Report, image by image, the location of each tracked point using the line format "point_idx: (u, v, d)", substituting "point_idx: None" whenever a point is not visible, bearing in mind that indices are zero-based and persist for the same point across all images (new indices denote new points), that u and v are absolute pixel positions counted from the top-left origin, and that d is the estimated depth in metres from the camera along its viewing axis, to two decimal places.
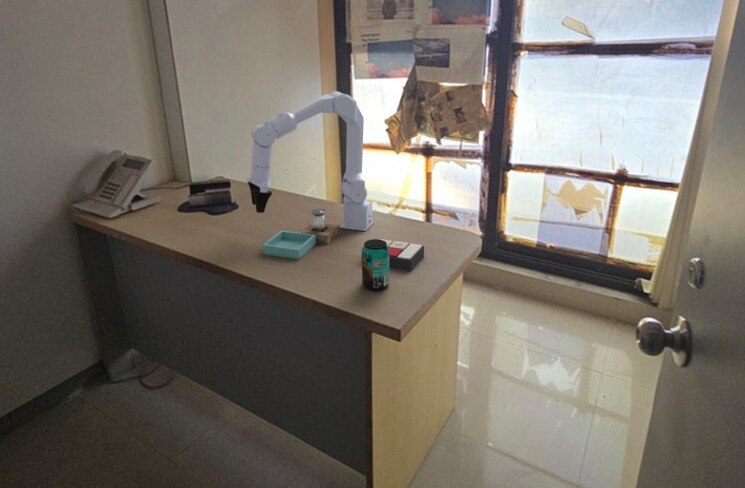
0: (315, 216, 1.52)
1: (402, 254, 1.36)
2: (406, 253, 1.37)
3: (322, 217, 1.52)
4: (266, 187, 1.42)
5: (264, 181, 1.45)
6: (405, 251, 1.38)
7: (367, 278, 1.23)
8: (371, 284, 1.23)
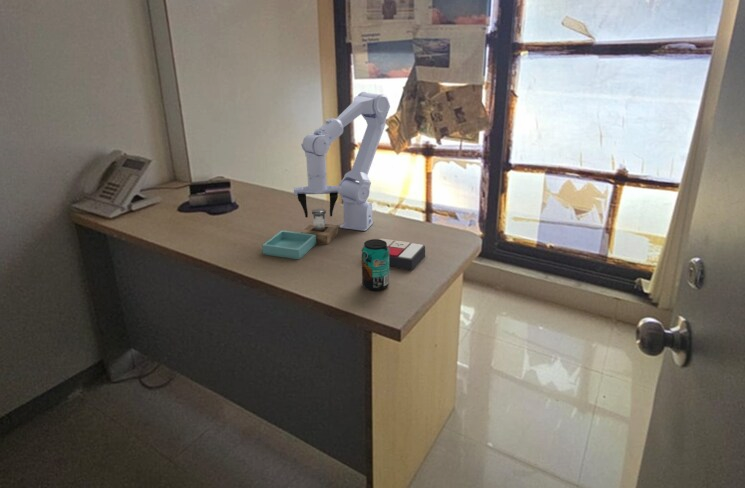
0: (315, 216, 1.52)
1: (403, 254, 1.37)
2: (407, 253, 1.37)
3: (322, 217, 1.52)
4: (340, 187, 1.51)
5: None
6: (406, 251, 1.38)
7: (367, 278, 1.23)
8: (371, 284, 1.23)
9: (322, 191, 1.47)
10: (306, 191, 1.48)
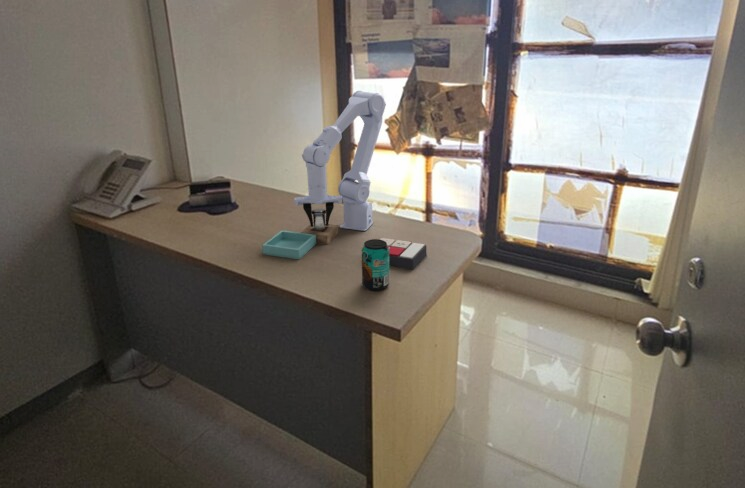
0: (315, 216, 1.52)
1: (404, 253, 1.37)
2: (408, 252, 1.37)
3: (322, 217, 1.52)
4: None
5: None
6: (407, 250, 1.38)
7: (367, 278, 1.23)
8: (371, 284, 1.23)
9: (323, 201, 1.49)
10: (307, 201, 1.49)
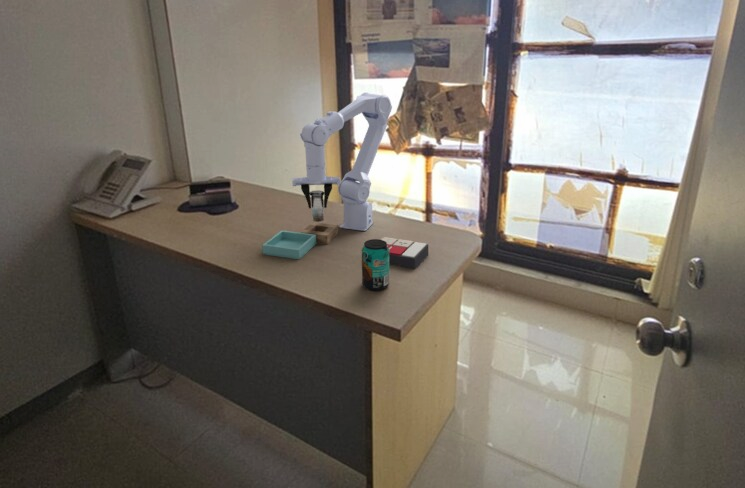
0: (313, 197, 1.49)
1: (406, 252, 1.37)
2: (410, 251, 1.38)
3: (320, 199, 1.49)
4: (339, 178, 1.50)
5: None
6: (409, 249, 1.39)
7: (367, 278, 1.23)
8: (371, 284, 1.23)
9: (321, 182, 1.46)
10: (305, 182, 1.46)
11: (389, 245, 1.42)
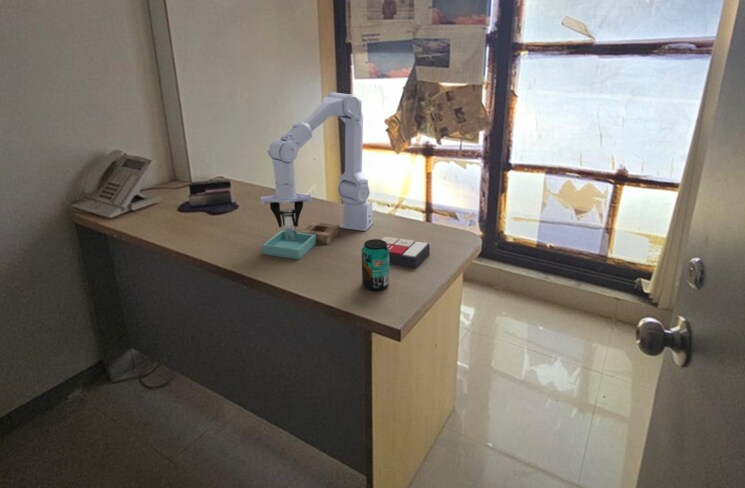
0: (283, 217, 1.43)
1: (407, 252, 1.38)
2: (411, 251, 1.38)
3: (290, 217, 1.43)
4: None
5: None
6: (410, 249, 1.39)
7: (367, 278, 1.23)
8: (371, 284, 1.23)
9: (291, 200, 1.39)
10: (274, 200, 1.40)
11: (390, 244, 1.43)
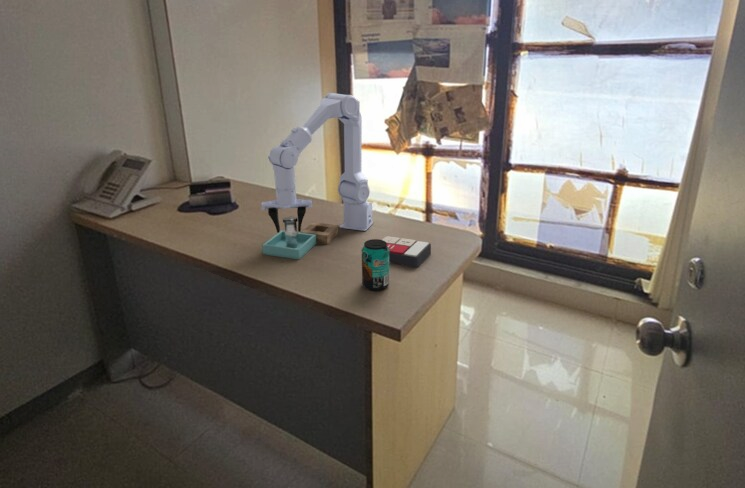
0: (286, 224, 1.44)
1: (408, 251, 1.38)
2: (413, 250, 1.38)
3: (293, 226, 1.44)
4: (311, 201, 1.44)
5: (296, 199, 1.43)
6: (412, 248, 1.40)
7: (367, 278, 1.23)
8: (371, 284, 1.23)
9: (291, 205, 1.40)
10: (274, 206, 1.40)
11: (392, 244, 1.43)
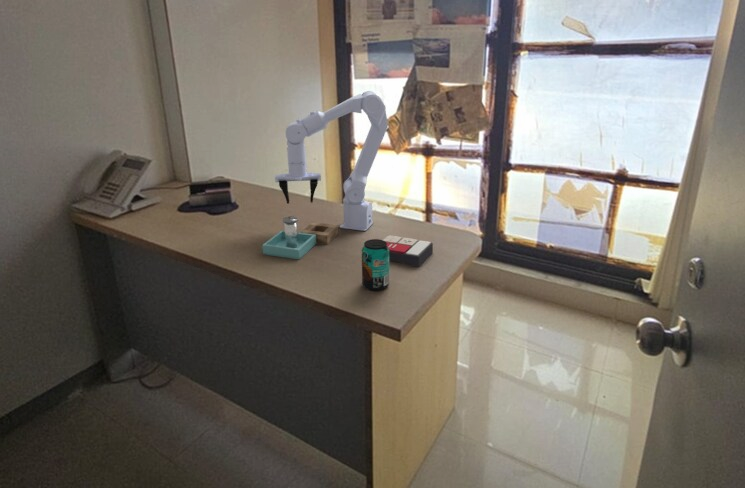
0: (286, 224, 1.44)
1: (410, 250, 1.39)
2: (414, 249, 1.39)
3: (293, 226, 1.44)
4: (320, 174, 1.57)
5: None
6: (413, 248, 1.40)
7: (367, 278, 1.23)
8: (371, 284, 1.23)
9: (302, 178, 1.54)
10: (287, 178, 1.54)
11: (394, 243, 1.43)
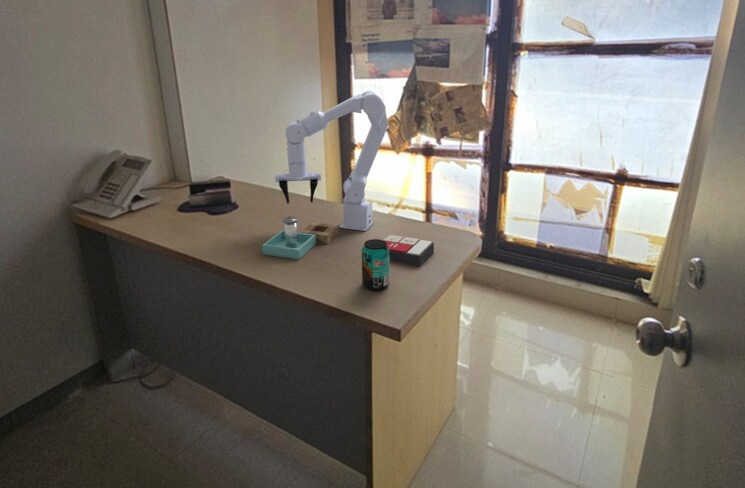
0: (286, 224, 1.44)
1: (411, 250, 1.39)
2: (416, 249, 1.39)
3: (293, 226, 1.44)
4: (320, 174, 1.57)
5: None
6: (415, 247, 1.40)
7: (367, 278, 1.23)
8: (371, 284, 1.23)
9: (302, 178, 1.54)
10: (287, 178, 1.54)
11: (395, 243, 1.44)
